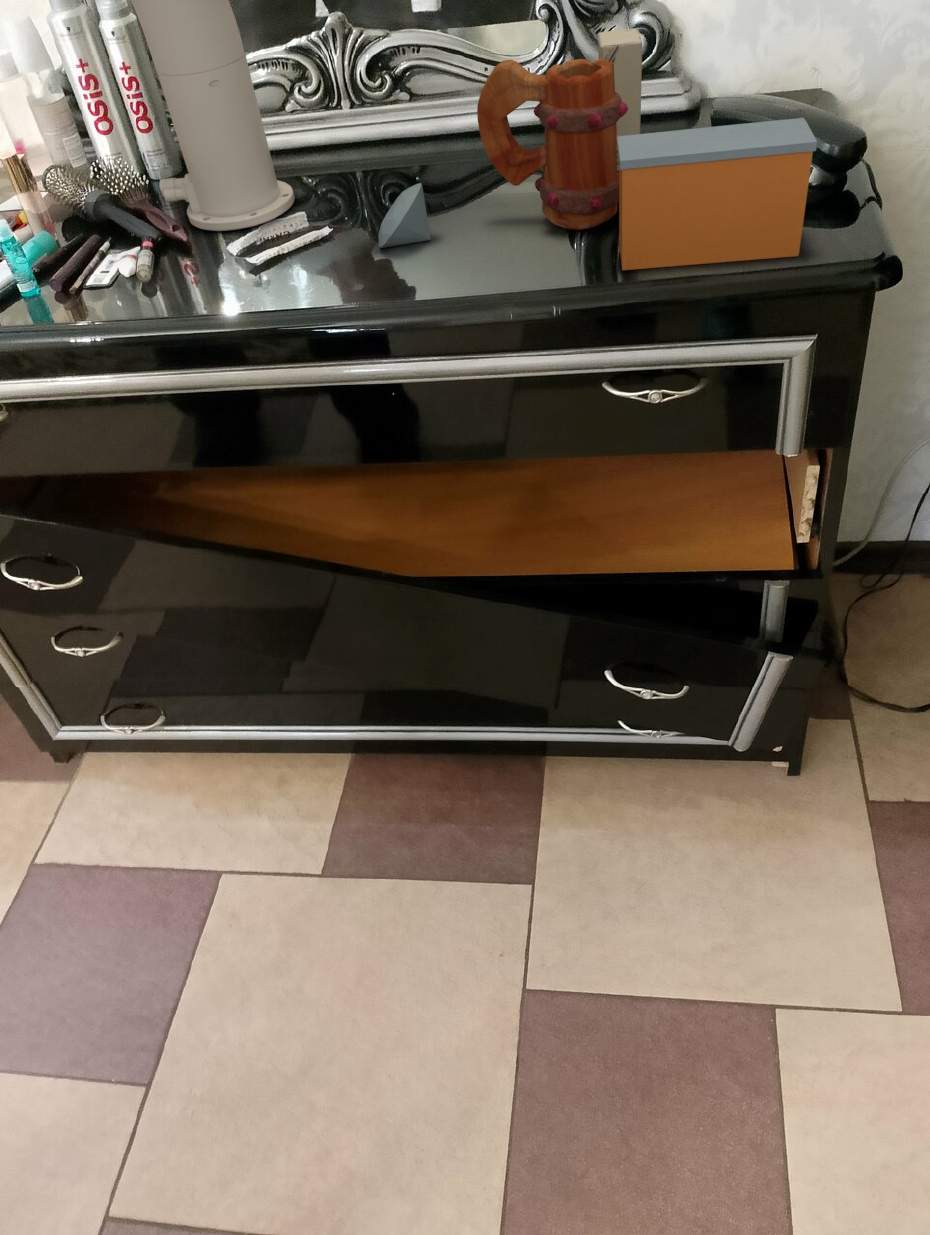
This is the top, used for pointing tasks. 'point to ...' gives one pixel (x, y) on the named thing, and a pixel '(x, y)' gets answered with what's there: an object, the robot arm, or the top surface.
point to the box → (625, 74)
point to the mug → (559, 136)
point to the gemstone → (405, 219)
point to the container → (713, 193)
